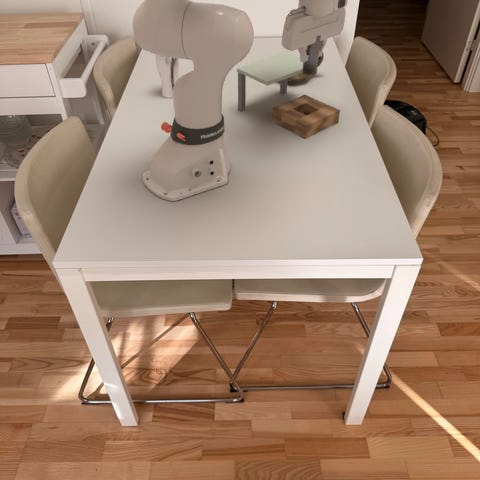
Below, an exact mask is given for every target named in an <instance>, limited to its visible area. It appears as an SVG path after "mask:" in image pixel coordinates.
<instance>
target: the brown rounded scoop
mask: <svg viewBox="0 0 480 480" xmlns="http://www.w3.org/2000/svg"><path fill="white" fill-rule="evenodd" d="M324 57H325V56H324V52H323V51H322V56H320V57H319V58H318V67H320V66H321V64H322V63H323V61H324ZM310 76H311V75H306V74H304V73H303V72H302V73H299V74H297V75H294V76H291V77H289V78H288V81H287V82H301V81H304V80H306V79H308V78H309V77H310Z"/></svg>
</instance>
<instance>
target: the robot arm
mask: <svg viewBox="0 0 480 480" xmlns="http://www.w3.org/2000/svg"><path fill="white" fill-rule="evenodd" d="M347 5H348V0H298V5H297V6H298V8H296V9H291V10H290V11H289V13H288V14H287V15H286V17H285V20H284V24H283V29H282V33H281V34H282V35H281V46H282V48H283V49H285V50H287V51H289V52H290V51H291V52H293V51H298V53H299V57H300V61H301V62H303V63H304V62H307V61H308V60H309V59H308V58H309V55H308V54H306V51H305V50H307V46H308V45H311V44H314V43H315V42H316V37H317V36H320V35H321V38H320V49H319V57H320V56H322V52H323V51H324V49H325V46H326V44H327V42H328V39H330V38H333V37H336V36H339V35H341V34H342V32H343V30H344V27H345V22H346V13H347V11H346V7H347ZM132 33H133V35H134V39H135V41H136V43H137V45H138V46H139V47H140V48H141V50H143V51H146V52H149V53H151V54H154V55H155V56H156V55H159V56H163V57H171V58H178V59H180V60H188V61H192V65H193V70H191V71H189V72H187V73H185V74H183V75H181V76H180V77H178V80H177V81H176V82H175V84H174V87H173V91H172V93H173V98H172V100H173V110H174V117H173V121H172V124H169V123H168V122H166V121H164V122H162V123H161V125H160V126H161V127H160V129H161V130H162V131H163V132H165V133H167V134H168V133H170V134H169V136H168V137H166V139H165V140H164V142H163V143H162V144H161V145H160V146H159V148H158V149H157V150H156V151H155V152H154V153H153V154H152V156H151V159H150V168H149V169H148V170H147V171H144V173H143V174H142V182H143V184H144V185H145V187H146V188H147V189H148V191H150V192H152V194H154V195H156V196H157V197H159V198H160V199H163V200H165V201H170V202H176V201H180V200H182V199H185V198H189V197H192V196H195V195H198V194H201V193H204V192H207V191H210V190H214V189H216V188H219V187H221V186H224V185H227V184H228V182H229V177H228V175H229V173H230V171H231V164H230V162H229V158H228V155H227V150H226V146H225V138H224V133H225V117H224V115H223V101H222V100H223V90H224V89H223V88H224V83H225V81H226V78H227V76H228V74H229V73H230V71H231V70H232V69H233V68H234V67H235V66H236V65H237V64H239V63H241V62H242V61H243V60H244V59H245V58H247V56H248V54H250V51H251V49H252V47H253V44H254V37H255V36H254V35H255V34H254V27H253V22H252V20H251V18H250V16H249V15H248V14H247V12H246V11H244V10H241V9H238V8H235V7H232V6H229V5H226V4H219V3H209V2H208V3H207V2H196V1H192V0H143V2H141V3H140V4H139V6H138V7H137V8H136V10H135V12H134V15H133V19H132Z"/></svg>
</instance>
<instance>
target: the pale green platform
mask: <svg viewBox="0 0 480 480" xmlns="http://www.w3.org/2000/svg"><path fill="white" fill-rule="evenodd" d="M302 70H303V62H301V61H300V55H299V56H298V55H296V54H293V53H290V52H288V51H283V52H281V53H277V54H274V55H272V56H269V57H265V58H262V59H260V60H257V61H255V62H251V63H248V64H245V65H242V66H239V67H237V68H236V72H237V110H238V111H240V112H241V113H242V112H244V111H246V107H247V106H246V96H247V94H246V92H247V91H246V90H247V89H246V85H247V83H246V78H247V77H248V78H249V79H252V80H254V81H257V82H259V83H261V84H263V85H265V86H270V85H273V84H276V83H278V82H280V83H279V94H280V95H283V96H284V95H286V94H288V92H287V91H288V82H289V81H288V78H289V77H291V76H294V75H297V74H299V73H302Z"/></svg>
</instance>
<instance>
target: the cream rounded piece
mask: <svg viewBox="0 0 480 480" xmlns="http://www.w3.org/2000/svg"><path fill="white" fill-rule="evenodd" d="M179 62H180V61H179V58H171V57H163V56H159V55H156V54H155V64H156V68H157V73H158V75H159V78H160V82H161V96H162V97H164V98H165V99H173V93H172V91H173V87H174V84H175V82H176V81H177V80H178V79H179V71H180V70H179V68H180V63H179Z"/></svg>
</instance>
